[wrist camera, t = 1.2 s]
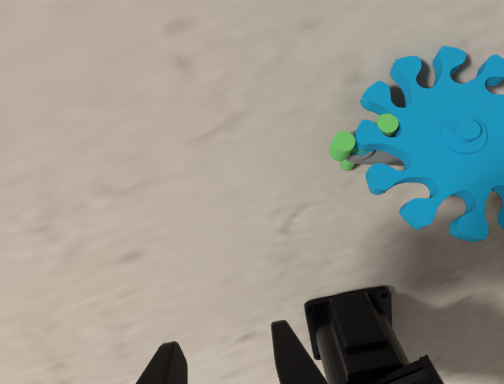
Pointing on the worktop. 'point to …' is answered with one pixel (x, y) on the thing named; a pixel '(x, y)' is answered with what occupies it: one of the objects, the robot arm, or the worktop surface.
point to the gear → (434, 140)
